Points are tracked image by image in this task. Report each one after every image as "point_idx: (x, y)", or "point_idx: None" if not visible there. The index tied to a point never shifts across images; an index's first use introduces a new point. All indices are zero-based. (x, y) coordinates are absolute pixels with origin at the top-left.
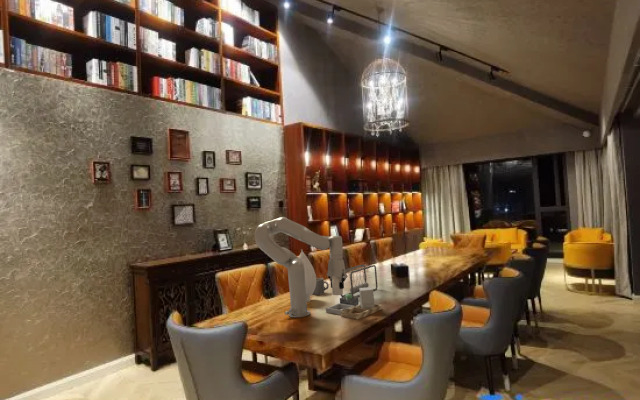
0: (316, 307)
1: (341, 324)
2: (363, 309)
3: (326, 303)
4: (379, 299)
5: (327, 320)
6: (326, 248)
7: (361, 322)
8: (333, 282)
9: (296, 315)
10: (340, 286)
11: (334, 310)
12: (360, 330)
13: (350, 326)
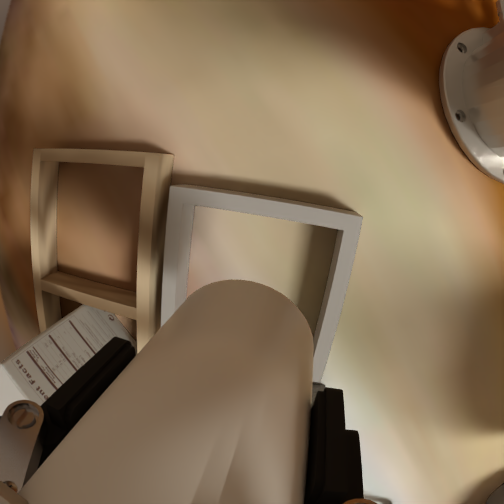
0: (484, 312)
1: (94, 27)
2: (70, 286)
3: (447, 409)
4: None
5: (216, 34)
6: None
7: (24, 115)
8: (194, 416)
9: (480, 31)
10: (92, 360)
11: (253, 196)
12: (6, 32)
13: (47, 36)
